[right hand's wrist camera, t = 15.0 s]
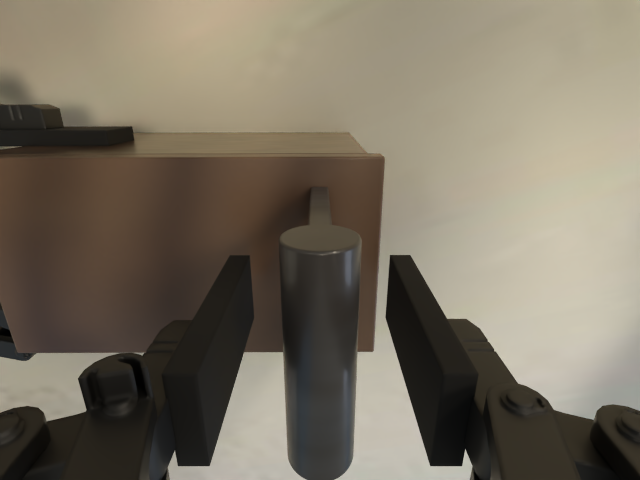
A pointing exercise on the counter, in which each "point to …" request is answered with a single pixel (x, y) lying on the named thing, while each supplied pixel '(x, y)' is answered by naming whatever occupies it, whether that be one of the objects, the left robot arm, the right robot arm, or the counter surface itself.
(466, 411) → the right robot arm
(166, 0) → the counter surface
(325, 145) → the chest
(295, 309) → the lid
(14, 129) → the left robot arm
